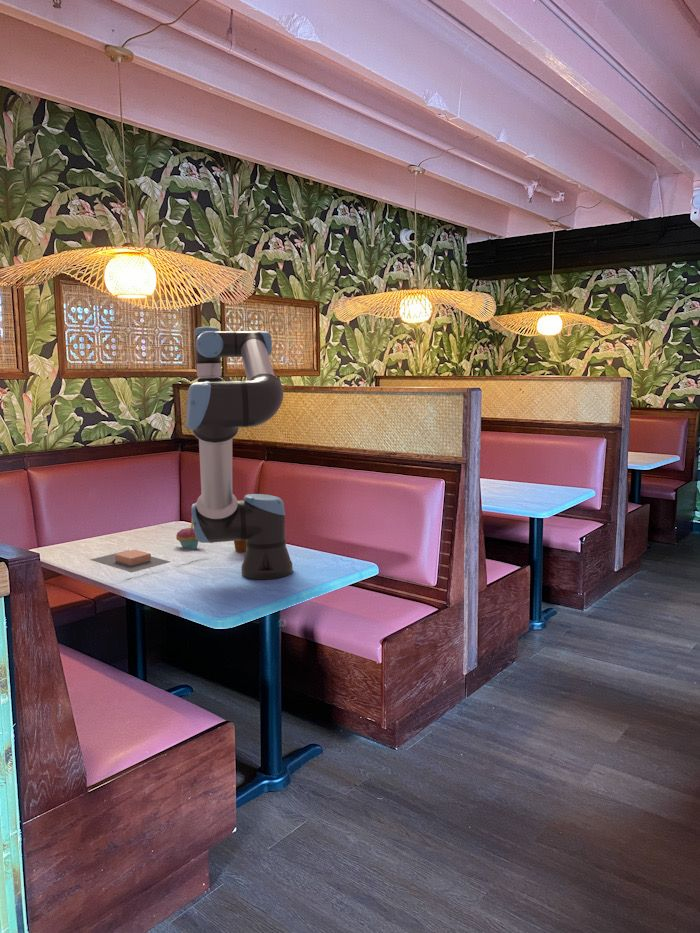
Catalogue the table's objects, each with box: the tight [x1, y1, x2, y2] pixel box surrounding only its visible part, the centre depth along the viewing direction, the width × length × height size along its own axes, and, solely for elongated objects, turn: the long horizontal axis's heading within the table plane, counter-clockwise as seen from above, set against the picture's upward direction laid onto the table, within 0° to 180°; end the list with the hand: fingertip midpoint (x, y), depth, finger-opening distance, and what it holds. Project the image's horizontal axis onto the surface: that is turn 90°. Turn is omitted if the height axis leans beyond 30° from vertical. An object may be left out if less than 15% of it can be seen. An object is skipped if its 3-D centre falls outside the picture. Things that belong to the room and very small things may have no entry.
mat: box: [89, 550, 171, 573], centre depth 218 cm, size 24×14×1 cm, turn 50°
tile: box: [114, 549, 152, 566], centre depth 217 cm, size 2×7×9 cm
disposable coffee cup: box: [233, 540, 246, 553], centre depth 231 cm, size 10×10×12 cm
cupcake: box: [175, 520, 200, 551], centre depth 235 cm, size 9×8×12 cm
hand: (213, 452), depth 218 cm, fingers closed
